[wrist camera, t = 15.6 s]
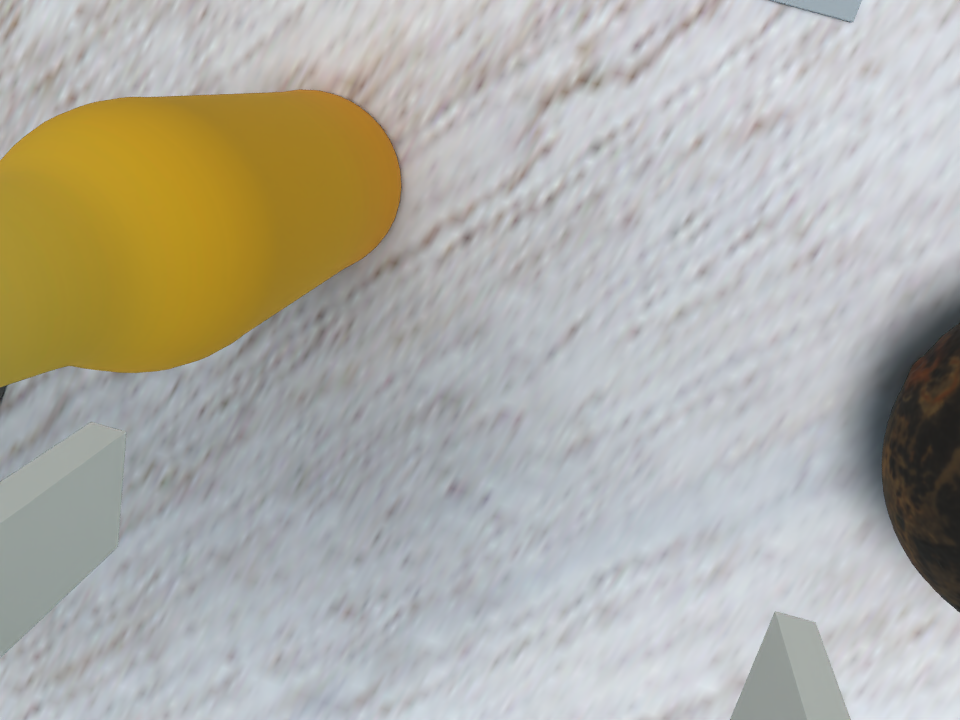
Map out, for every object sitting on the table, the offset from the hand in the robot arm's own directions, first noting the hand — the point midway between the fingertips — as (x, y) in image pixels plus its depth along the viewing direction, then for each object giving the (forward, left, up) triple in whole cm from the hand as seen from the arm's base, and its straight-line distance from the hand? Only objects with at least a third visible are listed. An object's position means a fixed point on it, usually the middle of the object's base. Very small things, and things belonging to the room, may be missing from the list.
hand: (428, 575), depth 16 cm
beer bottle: (-13, +1, -30) cm, 33 cm away
